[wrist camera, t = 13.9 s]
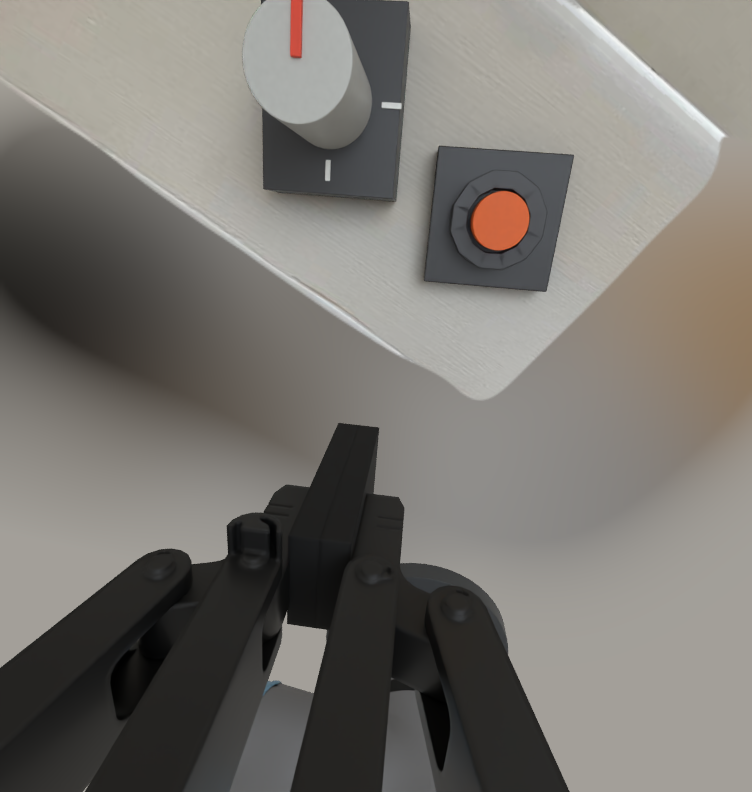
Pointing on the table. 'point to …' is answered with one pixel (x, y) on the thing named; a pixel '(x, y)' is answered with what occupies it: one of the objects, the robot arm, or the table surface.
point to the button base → (465, 187)
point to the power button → (500, 220)
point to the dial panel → (381, 139)
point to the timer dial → (307, 71)
